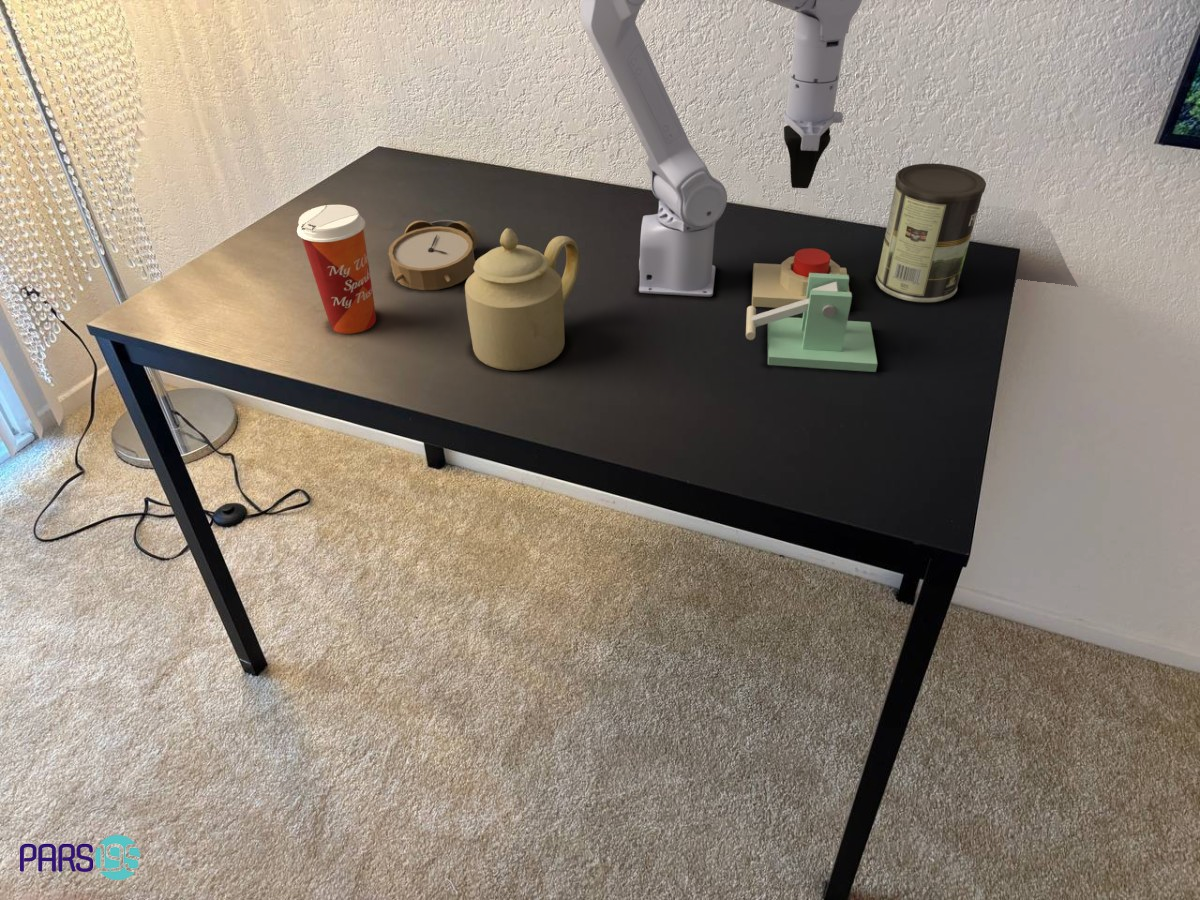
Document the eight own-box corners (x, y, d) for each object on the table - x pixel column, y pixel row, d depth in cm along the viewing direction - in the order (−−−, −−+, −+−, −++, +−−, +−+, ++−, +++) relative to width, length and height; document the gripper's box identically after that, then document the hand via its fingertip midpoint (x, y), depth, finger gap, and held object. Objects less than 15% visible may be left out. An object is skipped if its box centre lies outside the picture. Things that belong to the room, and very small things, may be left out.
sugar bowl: (502, 302, 111) (490, 189, 101) (584, 311, 108) (581, 197, 99) (458, 365, 99) (440, 245, 90) (549, 377, 97) (541, 255, 88)
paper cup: (353, 344, 103) (328, 236, 94) (308, 328, 106) (279, 221, 98) (398, 315, 108) (377, 210, 99) (353, 300, 112) (330, 197, 103)
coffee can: (952, 268, 115) (980, 164, 106) (961, 306, 107) (992, 198, 98) (872, 262, 117) (893, 160, 108) (876, 299, 109) (899, 193, 100)
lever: (749, 345, 99) (742, 329, 97) (750, 319, 103) (743, 302, 102) (844, 317, 95) (838, 299, 93) (841, 290, 99) (835, 272, 98)
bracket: (767, 365, 98) (775, 301, 93) (767, 324, 105) (775, 262, 100) (875, 372, 97) (890, 307, 91) (868, 330, 104) (881, 268, 98)
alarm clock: (377, 270, 111) (404, 203, 121) (386, 300, 115) (411, 233, 125) (462, 273, 110) (483, 205, 120) (468, 302, 114) (488, 235, 124)
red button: (793, 278, 108) (795, 263, 106) (792, 261, 111) (794, 247, 110) (829, 280, 107) (831, 265, 106) (827, 263, 110) (829, 249, 109)
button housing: (751, 306, 108) (754, 282, 106) (752, 272, 115) (755, 248, 113) (849, 312, 107) (854, 287, 105) (844, 277, 114) (848, 253, 111)
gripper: (853, 96, 97) (834, 210, 105) (844, 59, 108) (828, 165, 116) (789, 94, 98) (776, 208, 106) (787, 58, 109) (775, 163, 117)
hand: (799, 186), depth 111 cm, fingers closed
